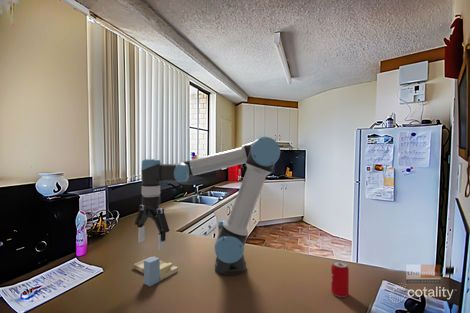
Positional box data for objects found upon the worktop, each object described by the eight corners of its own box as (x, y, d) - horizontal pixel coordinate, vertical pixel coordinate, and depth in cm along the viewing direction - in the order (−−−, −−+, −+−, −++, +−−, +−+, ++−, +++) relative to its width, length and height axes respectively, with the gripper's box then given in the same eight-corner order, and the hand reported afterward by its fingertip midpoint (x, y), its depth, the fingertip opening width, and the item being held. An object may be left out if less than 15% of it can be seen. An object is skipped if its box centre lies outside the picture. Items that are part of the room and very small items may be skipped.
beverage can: (343, 289, 100) (344, 260, 99) (351, 298, 94) (351, 267, 93) (328, 289, 100) (328, 260, 99) (335, 298, 93) (335, 267, 93)
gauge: (174, 273, 113) (173, 252, 112) (149, 286, 102) (149, 262, 102) (168, 271, 115) (168, 250, 115) (144, 283, 104) (143, 260, 104)
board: (177, 271, 114) (177, 267, 114) (160, 280, 106) (160, 276, 106) (151, 260, 126) (151, 256, 126) (133, 268, 118) (133, 264, 118)
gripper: (178, 197, 100) (178, 248, 101) (141, 191, 114) (141, 236, 115) (163, 200, 94) (163, 255, 95) (126, 193, 108) (126, 241, 109)
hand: (151, 245), depth 105 cm, fingers open, 13 cm apart
